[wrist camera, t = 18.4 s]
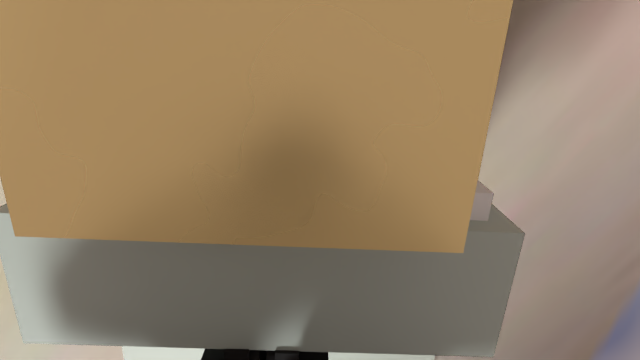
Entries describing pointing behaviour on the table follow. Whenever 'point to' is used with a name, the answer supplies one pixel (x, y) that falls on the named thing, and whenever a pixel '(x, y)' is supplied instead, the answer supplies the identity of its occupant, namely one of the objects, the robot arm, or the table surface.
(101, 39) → the tan rectangular workpiece
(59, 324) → the sliding jaw
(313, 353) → the robot arm
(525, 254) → the table surface
